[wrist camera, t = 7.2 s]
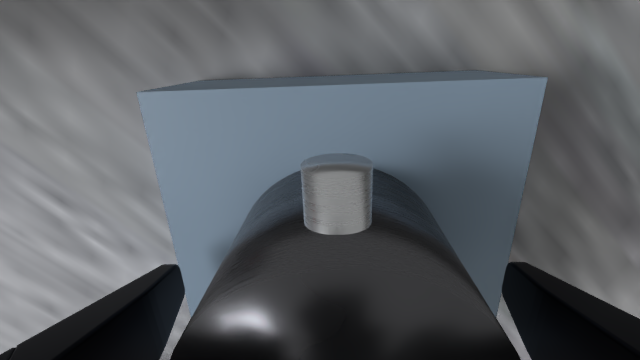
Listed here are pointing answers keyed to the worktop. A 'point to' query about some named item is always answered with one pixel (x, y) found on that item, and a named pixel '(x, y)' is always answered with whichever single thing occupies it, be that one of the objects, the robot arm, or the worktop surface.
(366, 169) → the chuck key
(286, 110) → the block
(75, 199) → the worktop surface
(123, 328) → the robot arm
